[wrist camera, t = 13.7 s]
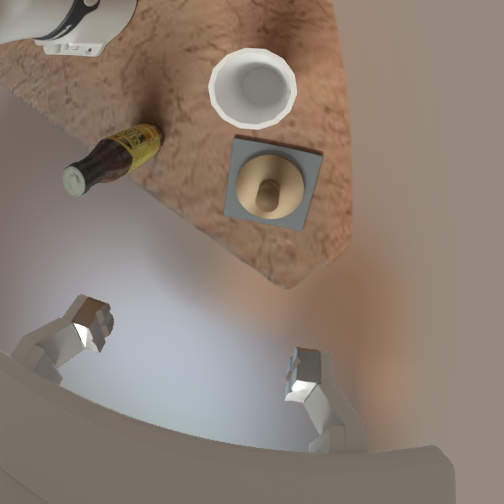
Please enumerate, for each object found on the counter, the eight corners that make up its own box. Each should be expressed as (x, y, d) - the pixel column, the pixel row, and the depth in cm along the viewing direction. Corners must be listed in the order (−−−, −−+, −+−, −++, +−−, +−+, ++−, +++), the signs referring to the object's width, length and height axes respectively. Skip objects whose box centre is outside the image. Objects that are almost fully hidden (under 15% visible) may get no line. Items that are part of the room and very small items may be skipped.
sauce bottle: (167, 125, 42) (97, 162, 26) (161, 159, 45) (97, 212, 29) (134, 118, 41) (56, 153, 25) (129, 151, 45) (58, 199, 29)
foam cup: (242, 50, 34) (223, 38, 23) (302, 68, 34) (308, 62, 24) (224, 105, 39) (199, 116, 29) (282, 123, 40) (279, 141, 29)
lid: (232, 209, 49) (225, 226, 44) (241, 148, 42) (234, 159, 38) (295, 222, 49) (295, 240, 44) (310, 162, 42) (313, 175, 37)
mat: (224, 213, 50) (223, 215, 50) (234, 137, 42) (233, 138, 42) (301, 229, 50) (301, 231, 50) (322, 155, 42) (322, 156, 41)
